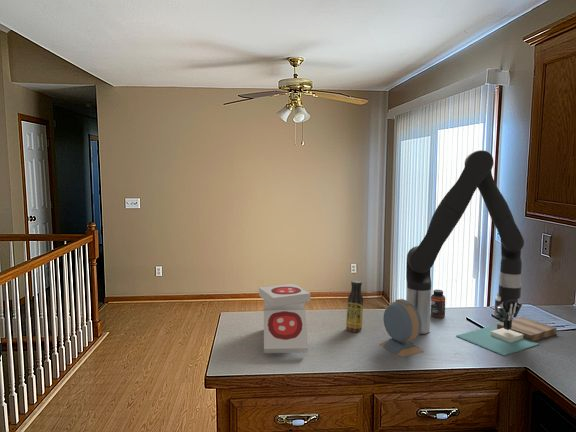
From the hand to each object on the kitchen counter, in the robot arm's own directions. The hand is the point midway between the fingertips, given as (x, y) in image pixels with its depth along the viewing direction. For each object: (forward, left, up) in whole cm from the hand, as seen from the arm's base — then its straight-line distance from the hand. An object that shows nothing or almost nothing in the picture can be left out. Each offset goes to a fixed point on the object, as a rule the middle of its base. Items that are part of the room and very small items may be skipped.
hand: (507, 329), depth 165 cm
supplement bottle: (-4, +30, -4) cm, 30 cm away
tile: (-1, 0, -2) cm, 2 cm away
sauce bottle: (-46, +34, -4) cm, 57 cm away
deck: (+12, 0, -3) cm, 12 cm away
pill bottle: (+22, +18, -4) cm, 29 cm away
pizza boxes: (-76, +37, -4) cm, 85 cm away
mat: (-6, 0, -3) cm, 7 cm away
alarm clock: (-42, +12, -4) cm, 44 cm away
